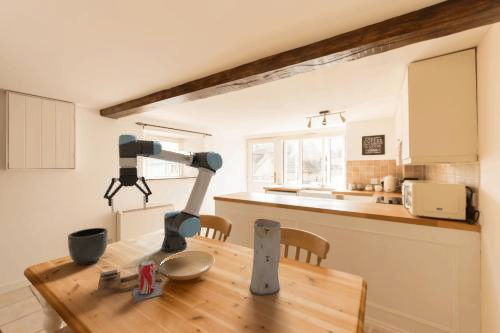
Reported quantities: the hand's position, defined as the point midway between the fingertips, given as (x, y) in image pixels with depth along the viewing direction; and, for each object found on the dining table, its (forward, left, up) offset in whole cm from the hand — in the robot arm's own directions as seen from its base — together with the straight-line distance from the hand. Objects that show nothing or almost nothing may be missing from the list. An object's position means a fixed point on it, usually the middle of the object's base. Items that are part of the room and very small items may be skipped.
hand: (129, 211), depth 105 cm
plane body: (0, +11, -30) cm, 32 cm away
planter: (+19, -26, -30) cm, 44 cm away
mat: (-6, +22, -30) cm, 38 cm away
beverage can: (-6, +22, -30) cm, 37 cm away
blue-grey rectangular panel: (+8, +11, -24) cm, 28 cm away
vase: (-49, +44, -30) cm, 73 cm away
